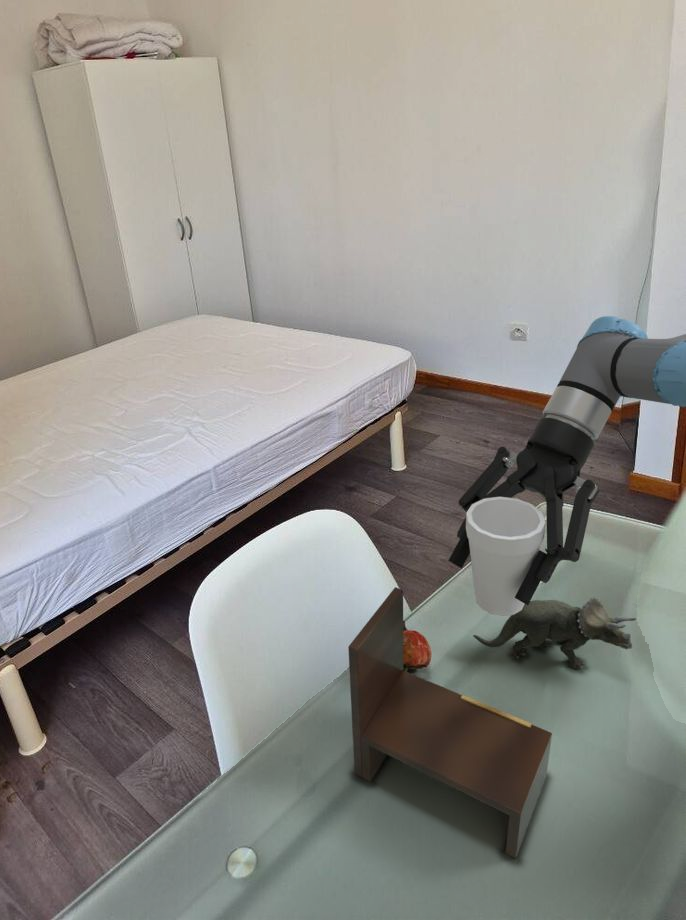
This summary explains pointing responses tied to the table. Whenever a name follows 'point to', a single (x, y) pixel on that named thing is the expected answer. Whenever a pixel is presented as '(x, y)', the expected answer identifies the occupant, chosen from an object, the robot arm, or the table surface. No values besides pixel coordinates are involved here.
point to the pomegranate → (415, 650)
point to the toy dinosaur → (561, 627)
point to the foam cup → (502, 550)
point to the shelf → (440, 728)
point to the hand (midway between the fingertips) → (486, 582)
